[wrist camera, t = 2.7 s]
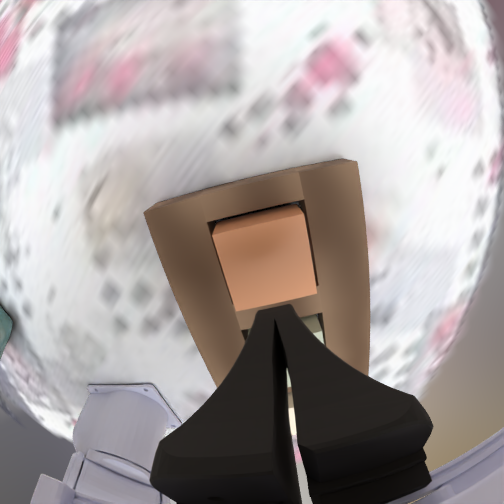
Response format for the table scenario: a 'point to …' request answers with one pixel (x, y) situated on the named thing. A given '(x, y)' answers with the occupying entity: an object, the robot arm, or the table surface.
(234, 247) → the terracotta button
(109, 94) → the table surface
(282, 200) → the button panel
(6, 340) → the flower pot
